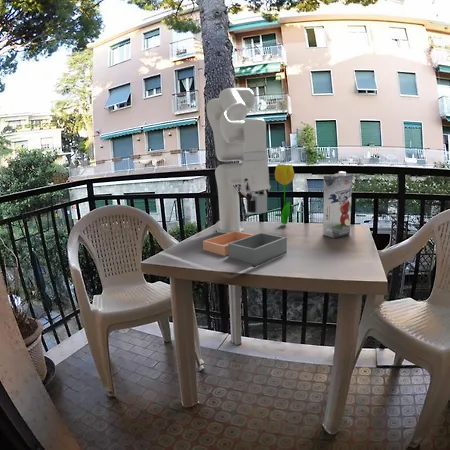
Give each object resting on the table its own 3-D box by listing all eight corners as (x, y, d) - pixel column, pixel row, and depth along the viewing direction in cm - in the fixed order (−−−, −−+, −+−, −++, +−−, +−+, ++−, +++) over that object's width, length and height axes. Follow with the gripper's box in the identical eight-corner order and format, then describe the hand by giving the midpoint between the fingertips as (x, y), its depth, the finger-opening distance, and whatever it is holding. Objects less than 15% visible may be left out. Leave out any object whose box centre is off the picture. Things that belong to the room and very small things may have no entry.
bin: (229, 259, 114) (228, 243, 112) (261, 247, 126) (260, 232, 124) (254, 267, 105) (254, 249, 104) (286, 253, 117) (286, 237, 116)
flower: (282, 228, 152) (282, 164, 145) (272, 225, 159) (271, 164, 152) (297, 225, 156) (297, 163, 149) (286, 222, 163) (286, 163, 156)
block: (246, 212, 112) (246, 195, 110) (256, 210, 115) (255, 193, 114) (257, 214, 108) (257, 196, 107) (267, 211, 112) (266, 194, 110)
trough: (203, 252, 123) (202, 240, 122) (235, 241, 136) (235, 230, 134) (225, 258, 115) (224, 246, 114) (257, 246, 127) (257, 235, 126)
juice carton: (319, 235, 138) (320, 172, 132) (336, 231, 143) (338, 170, 136) (335, 239, 130) (337, 172, 124) (353, 235, 135) (356, 170, 129)
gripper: (262, 156, 116) (263, 205, 120) (229, 159, 104) (232, 213, 108) (279, 155, 110) (280, 207, 115) (246, 158, 99) (248, 216, 103)
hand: (256, 209), depth 111 cm, fingers closed on block, 5 cm apart
